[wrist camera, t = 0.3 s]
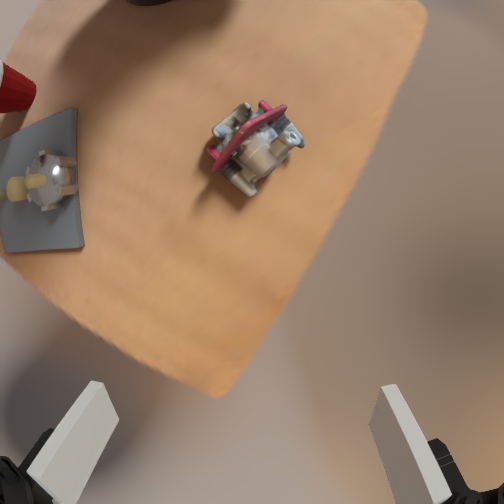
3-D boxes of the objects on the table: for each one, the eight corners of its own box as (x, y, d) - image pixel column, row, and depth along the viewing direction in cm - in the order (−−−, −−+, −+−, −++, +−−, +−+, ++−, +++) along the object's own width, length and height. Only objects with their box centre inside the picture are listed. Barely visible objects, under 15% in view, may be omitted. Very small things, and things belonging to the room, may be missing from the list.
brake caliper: (246, 74, 30) (295, 89, 22) (290, 131, 38) (341, 165, 30) (179, 135, 32) (201, 173, 24) (232, 183, 40) (267, 231, 32)
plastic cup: (5, 124, 33) (-38, 121, 22) (20, 73, 31) (-19, 62, 19) (35, 125, 34) (-13, 119, 22) (52, 69, 31) (9, 52, 19)
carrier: (1, 142, 34) (-29, 142, 26) (77, 109, 33) (44, 99, 25) (9, 251, 40) (-20, 262, 31) (84, 245, 39) (52, 259, 30)
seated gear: (40, 157, 34) (24, 157, 30) (76, 145, 33) (60, 143, 29) (43, 210, 36) (28, 214, 32) (79, 204, 35) (63, 207, 32)
